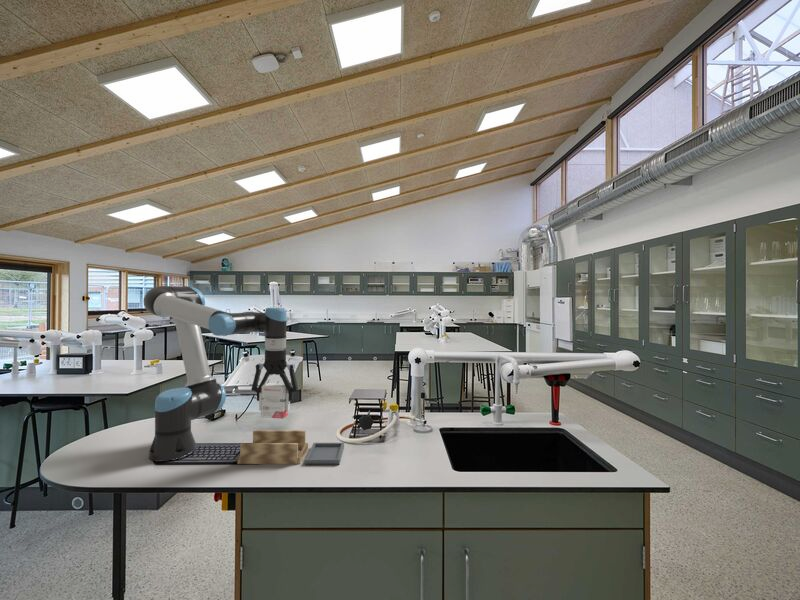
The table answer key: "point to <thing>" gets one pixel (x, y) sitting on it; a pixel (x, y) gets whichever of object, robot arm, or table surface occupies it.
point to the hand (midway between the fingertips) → (274, 409)
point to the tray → (325, 454)
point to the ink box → (273, 401)
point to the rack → (274, 447)
